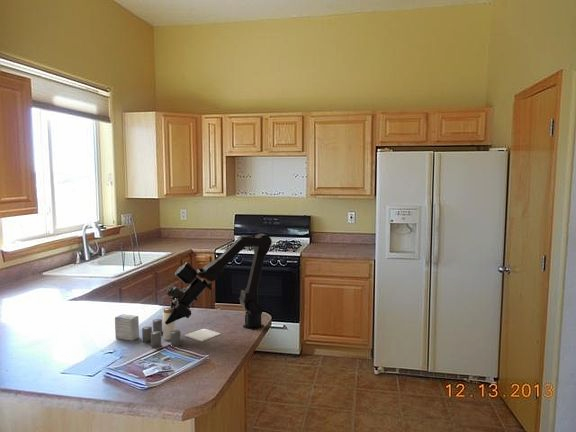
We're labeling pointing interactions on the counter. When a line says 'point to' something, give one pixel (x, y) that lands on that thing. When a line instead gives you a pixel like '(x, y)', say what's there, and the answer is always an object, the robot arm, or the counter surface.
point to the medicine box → (126, 327)
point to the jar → (167, 327)
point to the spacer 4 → (175, 338)
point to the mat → (202, 334)
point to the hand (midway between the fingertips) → (165, 321)
